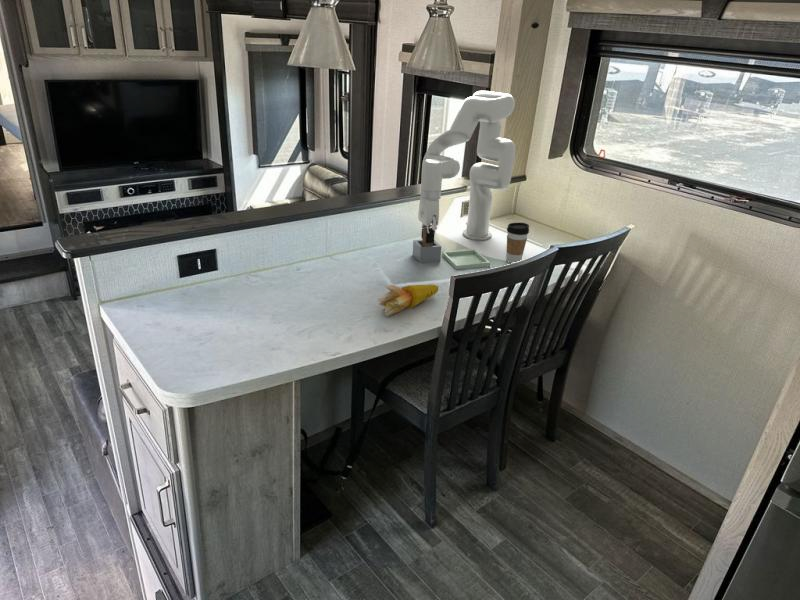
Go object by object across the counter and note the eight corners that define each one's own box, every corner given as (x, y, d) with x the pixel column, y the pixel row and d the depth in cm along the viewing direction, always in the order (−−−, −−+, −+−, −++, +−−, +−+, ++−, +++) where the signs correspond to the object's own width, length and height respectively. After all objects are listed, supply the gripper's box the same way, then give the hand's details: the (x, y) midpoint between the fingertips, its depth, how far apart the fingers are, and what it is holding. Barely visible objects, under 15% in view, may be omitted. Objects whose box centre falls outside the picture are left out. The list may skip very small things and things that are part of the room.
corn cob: (435, 307, 196) (381, 321, 179) (422, 290, 200) (368, 302, 182) (447, 291, 191) (393, 304, 174) (434, 274, 194) (379, 285, 177)
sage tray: (441, 257, 227) (442, 251, 226) (474, 255, 232) (474, 249, 230) (455, 271, 216) (456, 265, 214) (489, 268, 220) (490, 262, 219)
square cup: (412, 257, 227) (413, 240, 224) (432, 255, 229) (433, 238, 226) (419, 265, 220) (420, 248, 217) (440, 263, 222) (441, 246, 219)
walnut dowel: (419, 256, 225) (421, 227, 220) (429, 255, 226) (431, 226, 221) (423, 260, 222) (425, 230, 216) (433, 259, 223) (435, 229, 218)
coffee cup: (526, 265, 224) (531, 228, 217) (504, 264, 224) (509, 227, 217) (522, 257, 232) (527, 221, 225) (501, 256, 232) (506, 220, 225)
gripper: (413, 188, 219) (411, 233, 227) (429, 201, 205) (426, 249, 213) (432, 187, 221) (429, 232, 229) (448, 199, 207) (444, 247, 215)
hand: (427, 240), depth 221 cm, fingers closed on walnut dowel, 4 cm apart
